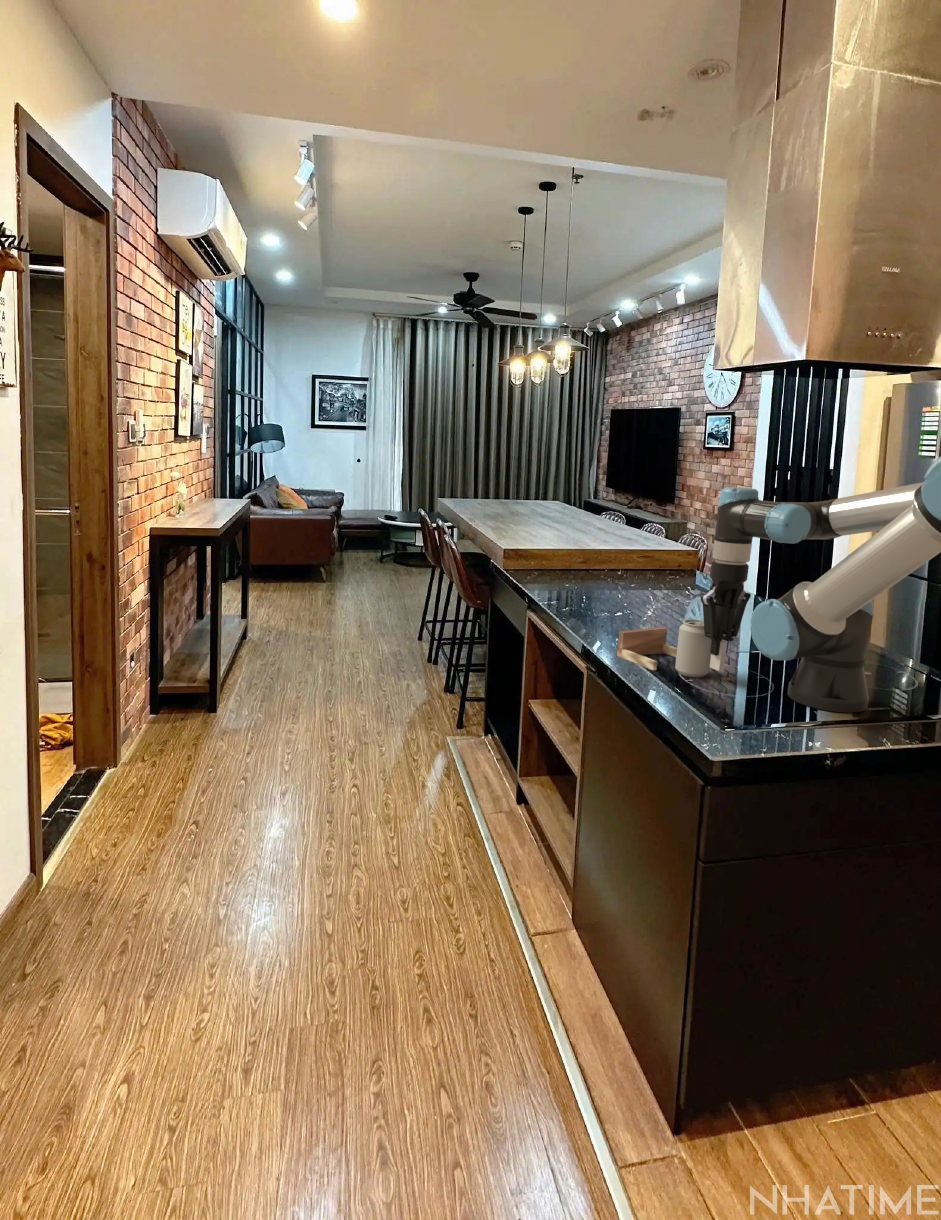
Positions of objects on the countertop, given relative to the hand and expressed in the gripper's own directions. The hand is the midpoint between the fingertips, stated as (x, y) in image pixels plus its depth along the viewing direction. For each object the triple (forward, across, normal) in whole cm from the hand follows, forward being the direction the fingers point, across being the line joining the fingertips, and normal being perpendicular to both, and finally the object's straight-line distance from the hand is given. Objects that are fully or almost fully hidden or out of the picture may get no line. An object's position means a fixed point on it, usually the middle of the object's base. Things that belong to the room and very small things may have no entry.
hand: (716, 668), depth 167 cm
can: (+3, 0, -7) cm, 8 cm away
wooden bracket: (+3, 0, -19) cm, 19 cm away
